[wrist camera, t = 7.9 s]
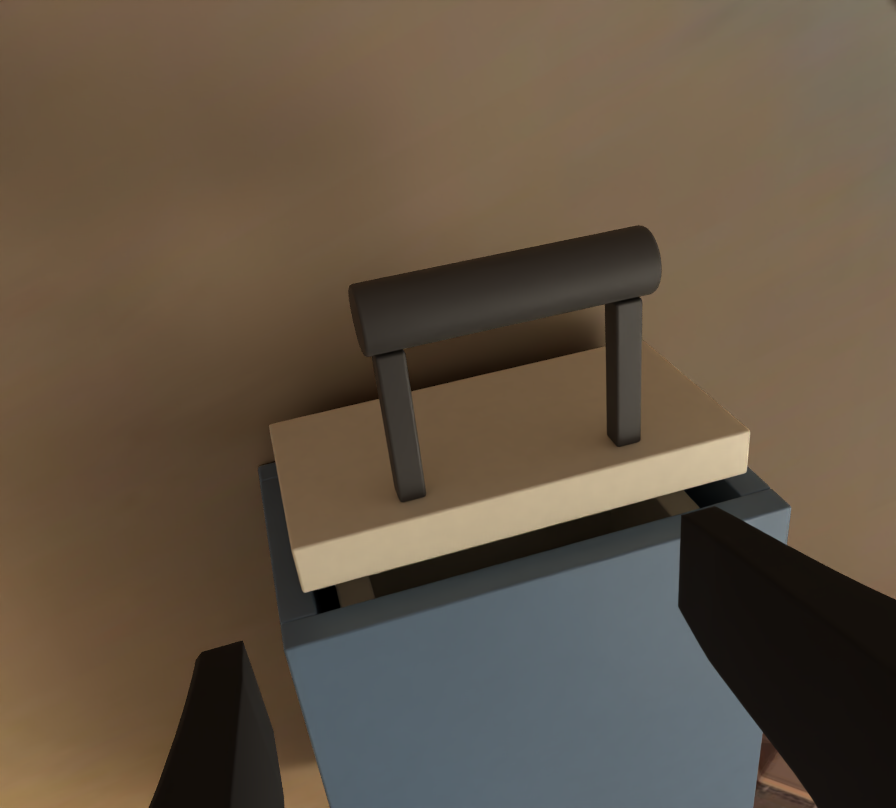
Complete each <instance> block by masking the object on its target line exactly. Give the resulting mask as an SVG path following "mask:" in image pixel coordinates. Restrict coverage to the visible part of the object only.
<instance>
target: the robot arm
mask: <svg viewBox="0 0 896 808" xmlns="http://www.w3.org/2000/svg"><path fill="white" fill-rule="evenodd" d="M678 608H679V609H680V611H681V613H682V615H683V617H684V618H685V620H686V622H687V624H688V626H689V627H690V629H691V631H692V633H693V635H694V636H695V638H696V640H697V642H698V643H699V645H700V647H701V648H702V650H703V652H704V653H705V655H706V657H707V658H708V660H709V661H710V663H711V664H712V665H713V667H714V668H715V670H716V671H717V672H718V674H719V675H720V676H721V678H722V679H723V680H724V682H725V683H726V684H727V686H728V687H729V688H730V690H731V691H732V692H733V694H734V695H735V696H736V698H737V699H738V700H739V702H740V703H741V704H742V706H743V707H744V708H745V710H746V711H747V712H748V713H749V715H750V716H751V717H752V719H753V720H754V721H755V723H756V724H757V725H758V727H759V728H760V729H761V731H762V732H763V733H764V734H765V736H766V737H767V738H768V740H769V741H770V742H771V744H772V745H773V746H774V748H775V749H776V750H777V752H778V753H779V754H780V755H781V757H782V758H783V759H784V761H785V762H786V763H787V765H788V766H789V767H790V769H791V770H792V771H793V773H794V774H795V775H796V777H797V778H798V780H799V781H800V782H801V784H802V785H803V787H804V788H805V790H806V791H807V792H808V794H809V795H810V797H811V798H812V800H813V801H814V803H815V804H816V806H817V808H896V600H895V599H893V598H891V597H888V596H886V595H884V594H882V593H880V592H878V591H875V590H873V589H871V588H869V587H867V586H865V585H863V584H861V583H859V582H857V581H855V580H853V579H851V578H849V577H847V576H845V575H843V574H841V573H839V572H837V571H835V570H833V569H831V568H829V567H827V566H825V565H823V564H821V563H820V562H818V561H816V560H814V559H812V558H810V557H808V556H806V555H804V554H803V553H801V552H799V551H797V550H795V549H793V548H792V547H790V546H788V545H786V544H784V543H782V542H781V541H779V540H777V539H775V538H773V537H771V536H770V535H768V534H766V533H764V532H762V531H761V530H759V529H757V528H755V527H753V526H752V525H750V524H748V523H746V522H744V521H743V520H741V519H739V518H737V517H735V516H733V515H732V514H730V513H728V512H726V511H724V510H722V509H720V508H718V507H716V506H712V507H708V508H705V509H701V510H698V511H694V512H691V513H687V514H684V515H681V535H680V563H679V592H678ZM149 808H284V795H283V788H282V782H281V775H280V769H279V762H278V756H277V750H276V744H275V737H274V731H273V728H272V725H271V722H270V719H269V716H268V713H267V710H266V707H265V705H264V702H263V699H262V696H261V693H260V690H259V687H258V684H257V681H256V678H255V675H254V672H253V669H252V666H251V663H250V660H249V658H248V655H247V652H246V649H245V646H244V643H243V640H242V641H239V642H235V643H232V644H228V645H225V646H221V647H218V648H214V649H211V650H207V651H204V652H201V654H200V655H199V656H198V658H197V659H196V662H195V666H194V671H193V675H192V679H191V683H190V687H189V691H188V695H187V698H186V702H185V705H184V709H183V712H182V715H181V718H180V722H179V725H178V728H177V731H176V735H175V738H174V740H173V743H172V746H171V749H170V752H169V755H168V757H167V760H166V763H165V766H164V769H163V772H162V774H161V777H160V780H159V783H158V785H157V788H156V791H155V793H154V796H153V798H152V801H151V803H150V806H149Z"/></svg>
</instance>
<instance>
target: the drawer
mask: <svg viewBox="0 0 896 808" xmlns="http://www.w3.org/2000/svg"><path fill="white" fill-rule="evenodd" d="M660 280H661V257H660V252H659V249H658V245H657V243H656V240H655V238H654V236H653V235H652V233H651V232H650V231H649V230H648V229H647V228H646V227H644V226H640V225H638V226H633V227H628V228H623V229H618V230H613V231H608V232H603V233H598V234H594V235H589V236H584V237H579V238H574V239H569V240H564V241H559V242H555V243H550V244H545V245H540V246H535V247H530V248H525V249H520V250H516V251H511V252H506V253H501V254H496V255H491V256H486V257H481V258H477V259H472V260H467V261H462V262H457V263H452V264H447V265H442V266H438V267H433V268H428V269H423V270H418V271H413V272H408V273H403V274H399V275H394V276H389V277H384V278H379V279H374V280H369V281H364V282H360V283H355V284H351V285H350V286H349V290H348V294H349V302H350V308H351V314H352V319H353V323H354V327H355V331H356V335H357V339H358V342H359V345H360V348H361V351H362V353H363V354H364V356H366V357H369V356H372V361H373V367H374V373H375V378H376V384H377V390H378V396H379V399H376V400H372V401H368V402H364V403H359V404H355V405H351V406H346V407H342V408H338V409H333V410H329V411H325V412H321V413H316V414H312V415H308V416H303V417H299V418H295V419H290V420H286V421H282V422H278V423H273V424H270V425H269V429H270V435H271V440H272V446H273V451H274V457H275V462H276V468H277V474H278V479H279V485H280V490H281V496H282V501H283V507H284V512H285V518H286V523H287V529H288V534H289V540H290V545H291V551H292V555H293V559H294V562H295V566H296V570H297V574H298V578H299V581H300V585H301V589H302V591H303V592H304V593H306V592H310V591H314V590H317V589H321V588H325V587H328V586H332V585H335V587H336V591H337V595H338V599H339V604H340V608H342V607H346V606H349V605H353V604H357V603H360V602H364V601H367V600H371V599H375V598H378V597H382V596H386V595H389V594H393V593H396V592H400V591H404V590H407V589H411V588H414V587H418V586H422V585H425V584H429V583H432V582H436V581H440V580H443V579H447V578H450V577H454V576H458V575H461V574H465V573H468V572H472V571H476V570H479V569H483V568H486V567H490V566H494V565H497V564H501V563H504V562H508V561H512V560H515V559H519V558H523V557H526V556H530V555H533V554H537V553H541V552H544V551H548V550H551V549H555V548H559V547H562V546H566V545H569V544H573V543H577V542H580V541H584V540H587V539H591V538H595V537H598V536H602V535H605V534H609V533H613V532H616V531H620V530H623V529H627V528H631V527H634V526H638V525H641V524H645V523H649V522H652V521H656V520H660V519H663V518H667V517H670V516H674V515H678V514H681V513H685V512H688V511H692V510H696V509H699V506H698V505H697V504H696V503H695V502H694V501H693V500H692V499H691V498H690V497H689V496H688V495H687V494H686V493H685V491H684V490H685V489H689V488H693V487H696V486H700V485H704V484H707V483H711V482H715V481H718V480H722V479H726V478H729V477H733V476H737V475H740V474H744V473H746V472H747V463H748V452H749V441H750V430H749V429H748V428H747V427H746V426H744V425H743V424H742V423H741V422H740V421H738V420H737V419H736V418H735V417H734V416H733V415H731V414H730V413H729V412H728V411H727V410H725V409H724V408H723V407H722V406H721V405H720V404H718V403H717V402H716V401H715V400H714V399H712V398H711V397H710V396H709V395H708V394H706V393H705V392H704V391H703V390H702V389H701V388H699V387H698V386H697V385H696V384H695V383H693V382H692V381H691V380H690V379H689V378H687V377H686V376H685V375H684V374H683V373H682V372H680V371H679V370H678V369H677V368H676V367H674V366H673V365H672V364H671V363H670V362H669V361H667V360H666V359H665V358H664V357H663V356H661V355H660V354H659V353H658V352H657V351H655V350H654V349H653V348H652V347H651V346H650V345H648V344H647V343H646V342H645V341H644V340H642V300H641V298H640V297H639V296H644V295H648V294H652V293H653V292H654V291H656V289H657V288H658V286H659V283H660ZM603 304H605V336H606V346H605V347H600V348H596V349H592V350H587V351H583V352H579V353H574V354H570V355H566V356H562V357H557V358H553V359H549V360H544V361H540V362H536V363H531V364H527V365H523V366H518V367H514V368H510V369H506V370H501V371H497V372H493V373H488V374H484V375H480V376H475V377H471V378H467V379H463V380H458V381H454V382H450V383H445V384H441V385H437V386H432V387H428V388H424V389H420V390H415V391H411V388H410V381H409V374H408V368H407V361H406V354H405V352H404V350H403V349H405V348H410V347H414V346H419V345H423V344H428V343H432V342H437V341H441V340H446V339H450V338H455V337H459V336H464V335H468V334H473V333H477V332H482V331H486V330H491V329H495V328H500V327H504V326H509V325H513V324H518V323H522V322H527V321H531V320H536V319H540V318H545V317H549V316H554V315H558V314H563V313H567V312H572V311H576V310H581V309H585V308H590V307H594V306H599V305H603Z"/></svg>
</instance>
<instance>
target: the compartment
mask: <svg viewBox="0 0 896 808" xmlns="http://www.w3.org/2000/svg"><path fill="white" fill-rule="evenodd" d="M258 473H259V480H260V488H261V495H262V501H263V508H264V515H265V522H266V529H267V536H268V543H269V550H270V557H271V564H272V571H273V578H274V585H275V592H276V598H277V605H278V612H279V619H280V625H281V633H282V640H283V647H284V652H285V656H286V659H287V663H288V666H289V669H290V673H291V676H292V680H293V683H294V686H295V690H296V693H297V697H298V700H299V704H300V707H301V710H302V714H303V717H304V721H305V724H306V727H307V731H308V734H309V738H310V741H311V744H312V748H313V751H314V755H315V758H316V762H317V765H318V768H319V772H320V775H321V779H322V782H323V785H324V789H325V792H326V796H327V799H328V802H329V806H330V808H753V805H754V797H755V789H756V781H757V774H758V766H759V758H760V750H761V742H762V734H763V732H762V731H761V729H760V728H759V727H758V725H757V724H756V723H755V721H754V720H753V719H752V717H751V716H750V715H749V713H748V712H747V711H746V710H745V708H744V707H743V706H742V704H741V703H740V702H739V700H738V699H737V698H736V696H735V695H734V694H733V692H732V691H731V690H730V688H729V687H728V686H727V684H726V683H725V682H724V680H723V679H722V678H721V676H720V675H719V674H718V672H717V671H716V670H715V668H714V667H713V665H712V664H711V663H710V661H709V660H708V658H707V657H706V655H705V653H704V652H703V650H702V648H701V647H700V645H699V643H698V642H697V640H696V638H695V636H694V635H693V633H692V631H691V629H690V627H689V626H688V624H687V622H686V620H685V618H684V617H683V615H682V613H681V611H680V609H679V608H678V592H679V563H680V535H681V515H684V514H687V513H691V512H694V511H698V510H701V509H705V508H708V507H712V506H716V507H718V508H720V509H722V510H724V511H726V512H728V513H730V514H732V515H733V516H735V517H737V518H739V519H741V520H743V521H744V522H746V523H748V524H750V525H752V526H753V527H755V528H757V529H759V530H761V531H762V532H764V533H766V534H768V535H770V536H771V537H773V538H775V539H777V540H779V541H781V542H782V543H784V544H786V545H787V538H788V530H789V522H790V514H791V506H790V505H789V504H788V503H787V502H785V501H784V500H783V499H782V498H781V497H780V496H779V495H778V494H777V493H776V492H774V491H773V490H772V489H770V487H769V486H768V485H767V484H766V483H765V482H764V481H763V480H762V479H761V478H759V477H758V476H757V475H756V474H755V473H754V472H753V471H752V470H751V469H750V468H748V467H747V472H746V473H744V474H740V475H737V476H733V477H729V478H726V479H722V480H718V481H715V482H711V483H707V484H704V485H700V486H696V487H693V488H689V489H685V490H684V491H685V493H686V494H687V495H688V496H689V497H690V498H691V499H692V500H693V501H694V502H695V503H696V504H697V505H698V506H699V509H696V510H692V511H688V512H685V513H681V514H678V515H674V516H670V517H667V518H663V519H660V520H656V521H652V522H649V523H645V524H641V525H638V526H634V527H631V528H627V529H623V530H620V531H616V532H613V533H609V534H605V535H602V536H598V537H595V538H591V539H587V540H584V541H580V542H577V543H573V544H569V545H566V546H562V547H559V548H555V549H551V550H548V551H544V552H541V553H537V554H533V555H530V556H526V557H523V558H519V559H515V560H512V561H508V562H504V563H501V564H497V565H494V566H490V567H486V568H483V569H479V570H476V571H472V572H468V573H465V574H461V575H458V576H454V577H450V578H447V579H443V580H440V581H436V582H432V583H429V584H425V585H422V586H418V587H414V588H411V589H407V590H404V591H400V592H396V593H393V594H389V595H386V596H382V597H378V598H375V599H371V600H367V601H364V602H360V603H357V604H353V605H349V606H346V607H342V608H340V604H339V599H338V595H337V591H336V587H335V585H332V586H328V587H325V588H321V589H317V590H314V591H310V592H306V593H304V592H303V591H302V589H301V585H300V581H299V578H298V574H297V570H296V566H295V562H294V559H293V555H292V551H291V545H290V540H289V534H288V529H287V523H286V518H285V512H284V507H283V501H282V496H281V490H280V485H279V479H278V474H277V468H276V462H275V463H270V464H266V465H262V466H260V467H259V468H258Z"/></svg>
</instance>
